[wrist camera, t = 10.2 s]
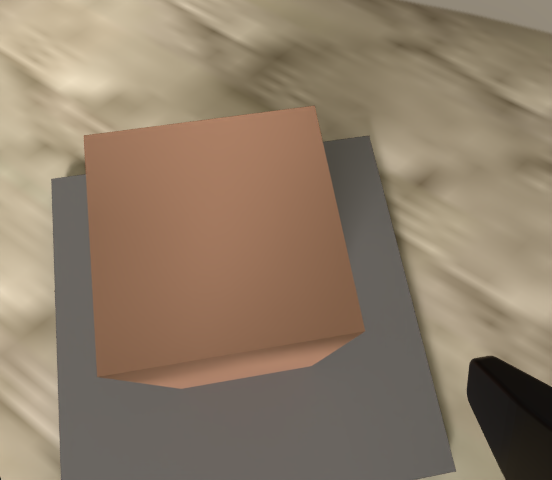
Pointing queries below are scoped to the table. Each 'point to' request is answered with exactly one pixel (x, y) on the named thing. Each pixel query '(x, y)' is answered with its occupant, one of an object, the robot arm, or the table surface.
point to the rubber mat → (263, 388)
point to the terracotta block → (216, 250)
